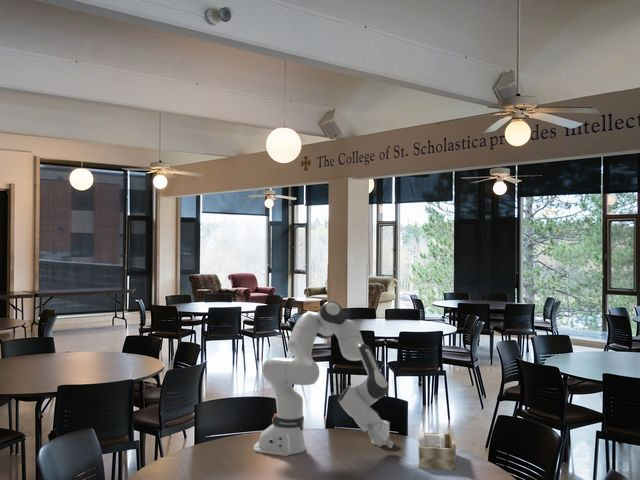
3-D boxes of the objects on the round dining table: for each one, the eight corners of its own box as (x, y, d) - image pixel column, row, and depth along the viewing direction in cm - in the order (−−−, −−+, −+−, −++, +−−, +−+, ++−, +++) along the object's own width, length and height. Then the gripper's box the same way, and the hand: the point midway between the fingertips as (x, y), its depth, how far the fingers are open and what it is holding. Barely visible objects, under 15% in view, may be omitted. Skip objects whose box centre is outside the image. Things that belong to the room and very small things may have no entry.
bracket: (419, 467, 242) (419, 442, 242) (418, 450, 262) (418, 427, 262) (455, 470, 240) (455, 444, 240) (452, 452, 260) (452, 429, 260)
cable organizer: (444, 467, 243) (445, 438, 243) (418, 465, 244) (418, 436, 244) (442, 454, 258) (443, 427, 258) (417, 453, 259) (417, 425, 259)
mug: (371, 444, 268) (372, 424, 269) (370, 437, 279) (370, 417, 279) (389, 445, 268) (390, 425, 268) (387, 438, 279) (388, 418, 279)
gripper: (372, 422, 244) (396, 449, 242) (375, 409, 264) (398, 434, 263) (361, 433, 245) (385, 459, 243) (365, 419, 265) (387, 443, 263)
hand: (391, 446), depth 253 cm, fingers closed
